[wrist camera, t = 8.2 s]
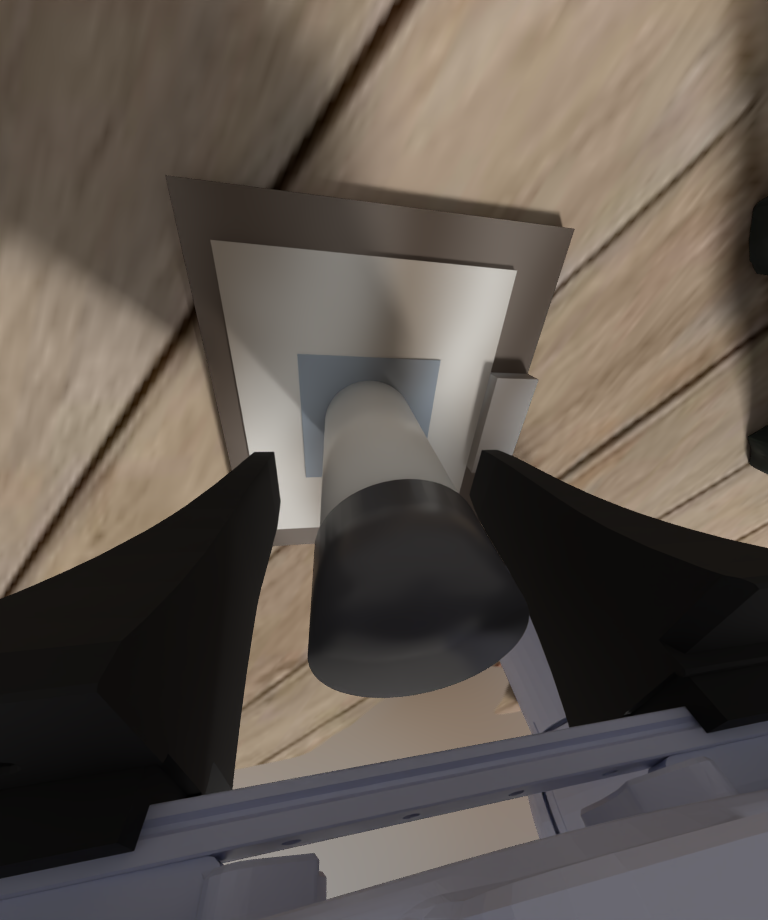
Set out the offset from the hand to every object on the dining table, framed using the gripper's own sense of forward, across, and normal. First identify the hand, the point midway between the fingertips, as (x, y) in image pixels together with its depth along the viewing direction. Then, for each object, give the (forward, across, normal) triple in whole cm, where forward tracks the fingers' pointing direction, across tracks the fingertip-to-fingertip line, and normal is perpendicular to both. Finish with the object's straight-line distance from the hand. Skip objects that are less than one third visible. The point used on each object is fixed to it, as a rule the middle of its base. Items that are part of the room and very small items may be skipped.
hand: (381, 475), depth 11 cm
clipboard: (+5, 0, 0) cm, 5 cm away
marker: (+4, 0, 0) cm, 4 cm away
